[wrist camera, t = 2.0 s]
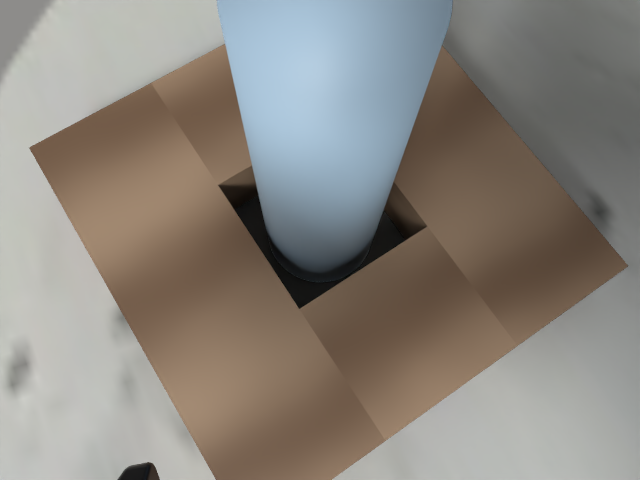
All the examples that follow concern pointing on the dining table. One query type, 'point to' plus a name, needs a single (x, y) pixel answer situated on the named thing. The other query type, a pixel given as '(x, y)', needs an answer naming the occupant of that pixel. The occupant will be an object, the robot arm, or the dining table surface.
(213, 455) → the pocket block
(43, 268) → the dining table surface
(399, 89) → the peg
